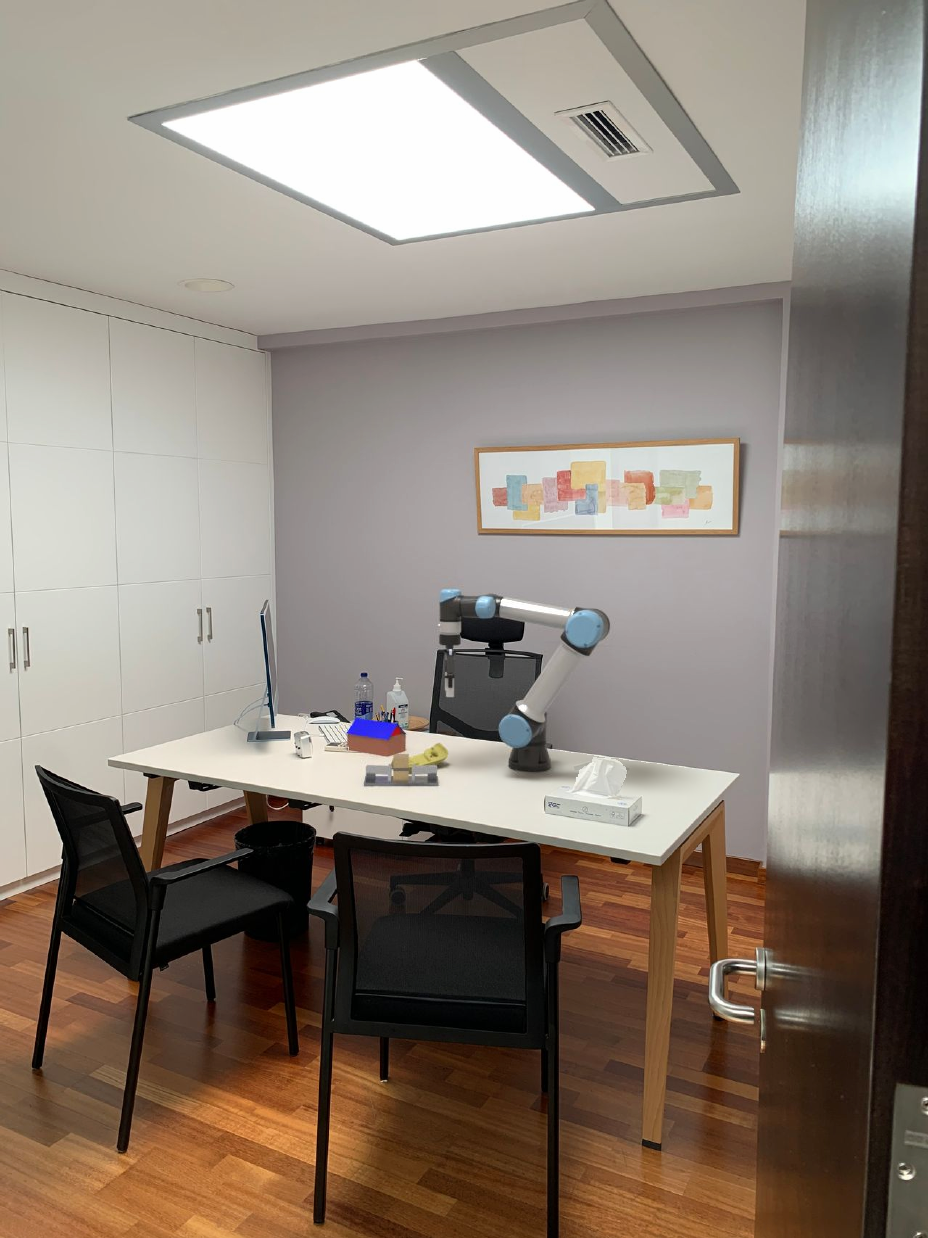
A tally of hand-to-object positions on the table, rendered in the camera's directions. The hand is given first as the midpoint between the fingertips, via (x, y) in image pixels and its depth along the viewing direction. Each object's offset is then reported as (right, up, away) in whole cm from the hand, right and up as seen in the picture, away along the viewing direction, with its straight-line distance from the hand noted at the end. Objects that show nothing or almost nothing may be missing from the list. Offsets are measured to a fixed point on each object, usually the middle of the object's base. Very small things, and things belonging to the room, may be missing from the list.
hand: (449, 693), depth 321 cm
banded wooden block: (-16, -27, -17) cm, 36 cm away
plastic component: (-10, -27, +3) cm, 29 cm away
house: (-28, -25, +28) cm, 47 cm away
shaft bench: (-16, -28, -17) cm, 37 cm away
